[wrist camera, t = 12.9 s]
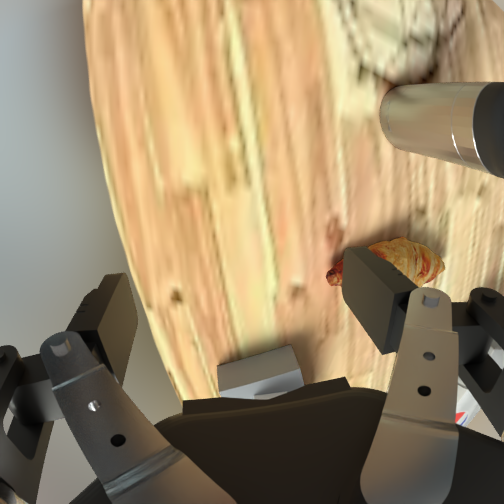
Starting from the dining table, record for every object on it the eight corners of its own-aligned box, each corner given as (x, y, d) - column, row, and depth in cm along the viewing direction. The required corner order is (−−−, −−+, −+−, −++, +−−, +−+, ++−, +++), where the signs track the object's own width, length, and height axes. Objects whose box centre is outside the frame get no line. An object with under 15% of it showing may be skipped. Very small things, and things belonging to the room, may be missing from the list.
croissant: (428, 237, 49) (458, 229, 41) (434, 296, 48) (465, 296, 40) (314, 245, 46) (335, 237, 38) (320, 315, 45) (342, 321, 37)
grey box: (290, 343, 49) (300, 368, 43) (303, 390, 54) (312, 414, 48) (216, 364, 49) (218, 392, 43) (239, 408, 53) (243, 434, 48)
